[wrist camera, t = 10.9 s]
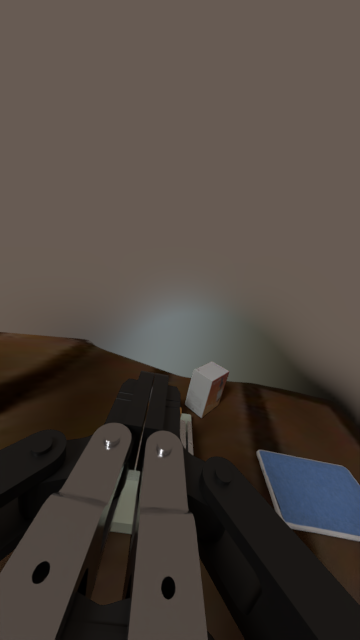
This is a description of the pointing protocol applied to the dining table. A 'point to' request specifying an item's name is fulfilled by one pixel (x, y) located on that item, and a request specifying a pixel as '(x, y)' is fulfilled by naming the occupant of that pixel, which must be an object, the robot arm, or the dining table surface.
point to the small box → (206, 388)
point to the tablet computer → (313, 494)
